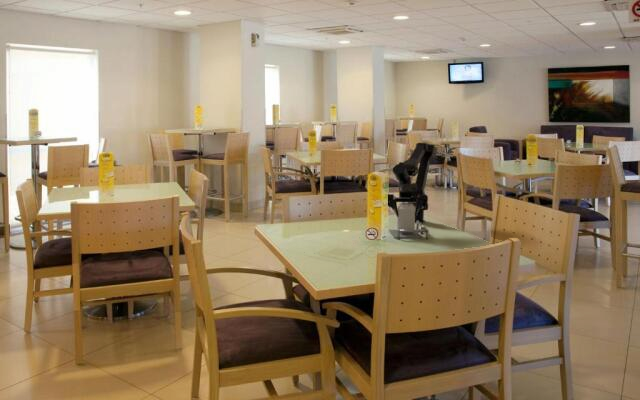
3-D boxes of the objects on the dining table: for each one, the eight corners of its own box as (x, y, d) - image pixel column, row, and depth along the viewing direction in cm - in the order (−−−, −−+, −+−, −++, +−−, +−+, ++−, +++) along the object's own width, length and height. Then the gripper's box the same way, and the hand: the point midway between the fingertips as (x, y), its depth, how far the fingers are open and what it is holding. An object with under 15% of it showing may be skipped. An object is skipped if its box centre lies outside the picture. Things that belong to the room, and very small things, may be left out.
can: (414, 228, 246) (414, 202, 243) (415, 232, 238) (415, 205, 236) (396, 228, 246) (397, 202, 244) (397, 232, 239) (398, 205, 237)
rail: (389, 228, 253) (390, 219, 252) (418, 228, 254) (418, 219, 253) (397, 239, 233) (397, 230, 233) (428, 239, 234) (428, 230, 233)
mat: (389, 230, 249) (389, 229, 249) (415, 230, 249) (415, 229, 249) (394, 238, 235) (394, 237, 235) (422, 238, 236) (422, 237, 236)
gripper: (385, 176, 243) (385, 205, 234) (428, 176, 241) (430, 206, 232) (383, 190, 252) (384, 219, 243) (425, 191, 250) (427, 220, 242)
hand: (406, 216), depth 240 cm, fingers closed on can, 7 cm apart
